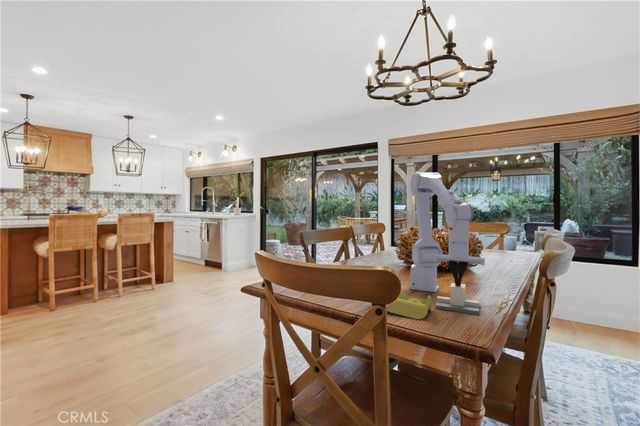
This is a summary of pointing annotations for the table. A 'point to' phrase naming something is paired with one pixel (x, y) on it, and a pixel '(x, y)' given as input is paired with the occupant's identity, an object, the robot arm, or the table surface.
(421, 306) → the plastic component
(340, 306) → the table surface
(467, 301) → the rail board
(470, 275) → the table surface
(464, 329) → the table surface
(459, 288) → the block
